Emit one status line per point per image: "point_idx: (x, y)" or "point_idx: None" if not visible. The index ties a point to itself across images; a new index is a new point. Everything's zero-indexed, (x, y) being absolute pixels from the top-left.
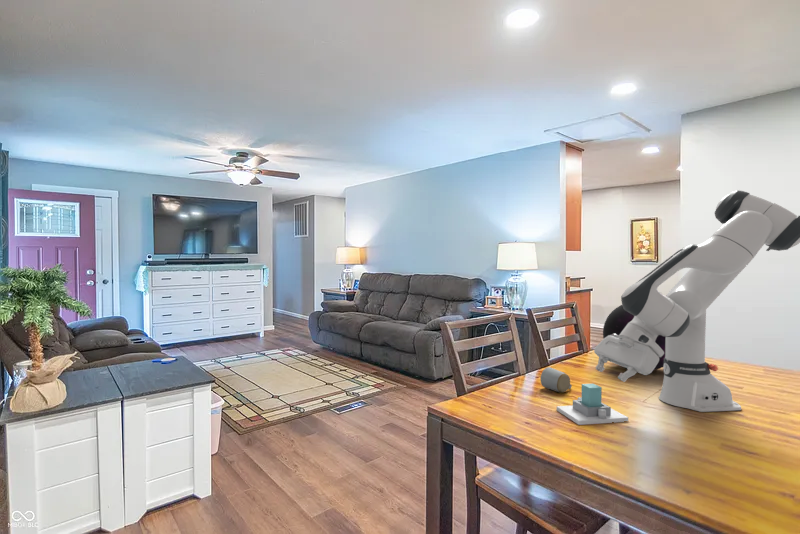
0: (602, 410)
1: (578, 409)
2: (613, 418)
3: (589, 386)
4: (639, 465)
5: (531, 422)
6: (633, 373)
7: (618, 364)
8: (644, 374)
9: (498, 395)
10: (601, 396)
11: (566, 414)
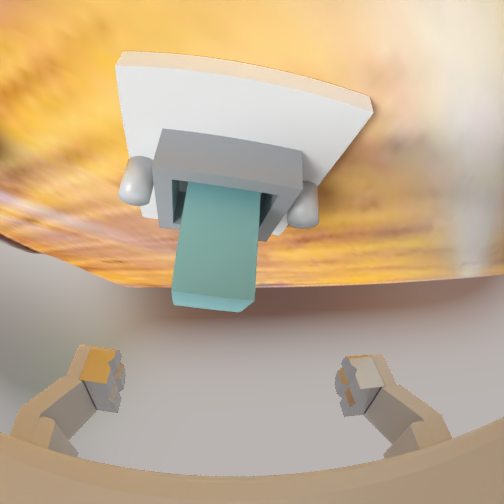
0: (307, 224)
1: None
2: (333, 165)
3: (218, 307)
4: (462, 255)
5: None
6: (431, 423)
7: (207, 480)
8: (501, 420)
9: (39, 234)
10: (257, 246)
11: None
